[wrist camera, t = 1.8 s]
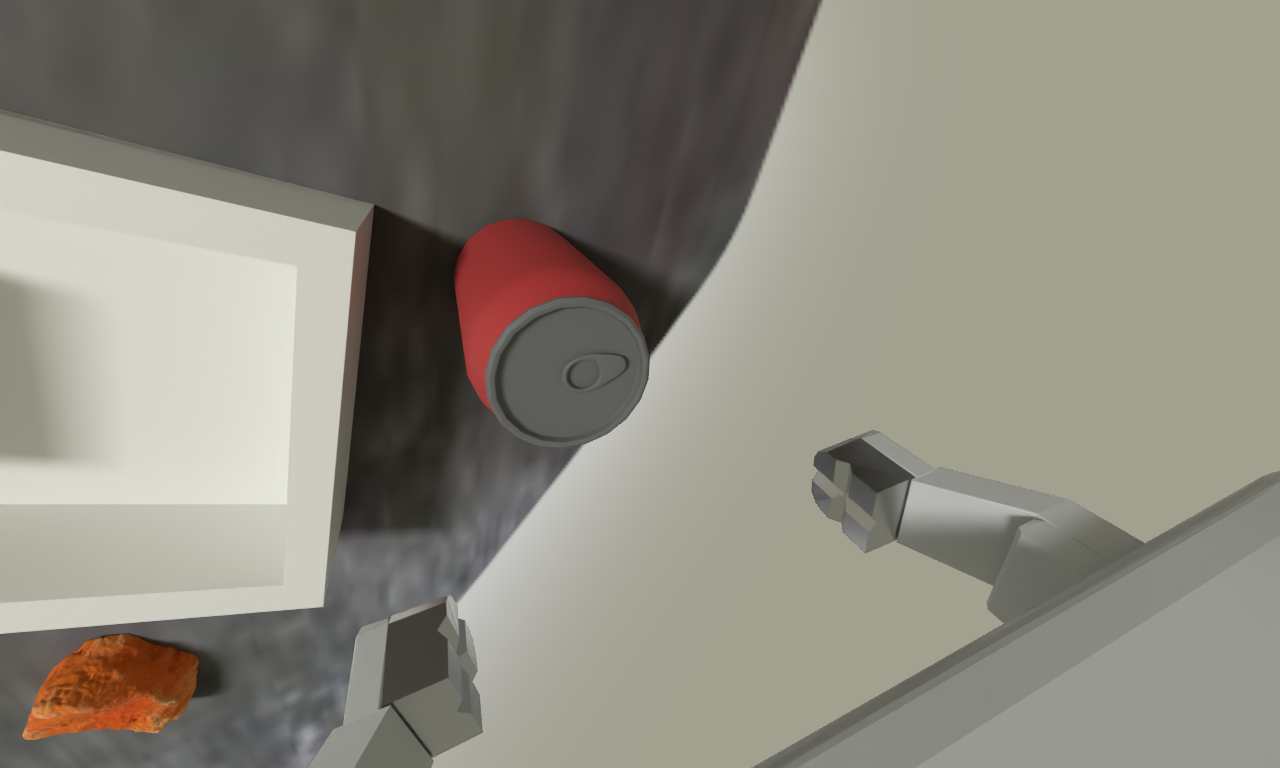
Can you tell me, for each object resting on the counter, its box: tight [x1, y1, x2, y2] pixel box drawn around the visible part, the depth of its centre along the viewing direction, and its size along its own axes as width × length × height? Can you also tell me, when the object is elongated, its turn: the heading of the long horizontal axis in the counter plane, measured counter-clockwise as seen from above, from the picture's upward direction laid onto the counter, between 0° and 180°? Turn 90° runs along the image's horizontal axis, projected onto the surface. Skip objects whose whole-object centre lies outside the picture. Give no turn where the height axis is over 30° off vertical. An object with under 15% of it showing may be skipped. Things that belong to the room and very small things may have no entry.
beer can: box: [453, 219, 650, 448], centre depth 20 cm, size 7×7×12 cm
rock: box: [22, 633, 199, 740], centre depth 26 cm, size 12×12×4 cm
